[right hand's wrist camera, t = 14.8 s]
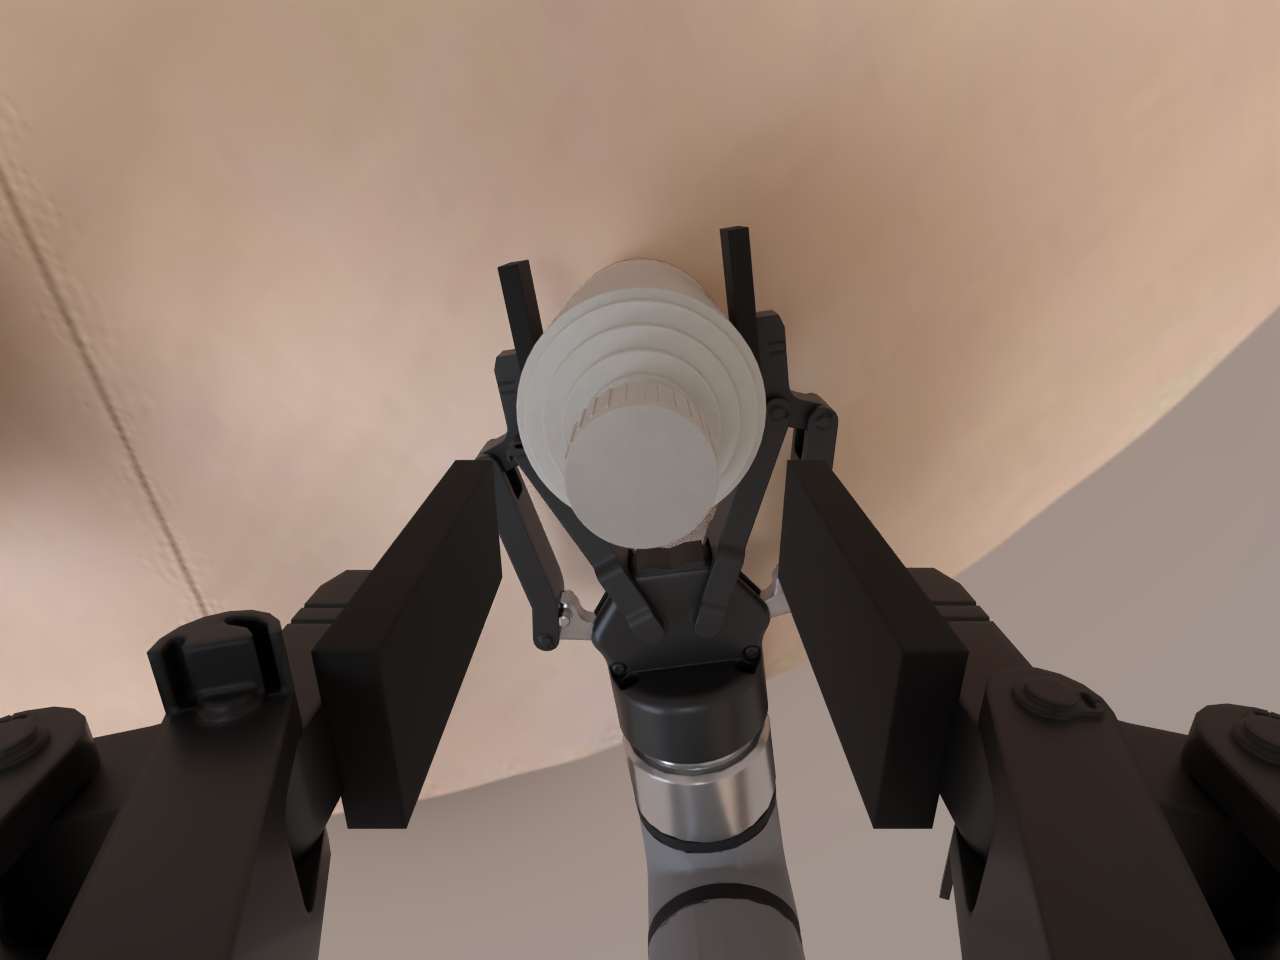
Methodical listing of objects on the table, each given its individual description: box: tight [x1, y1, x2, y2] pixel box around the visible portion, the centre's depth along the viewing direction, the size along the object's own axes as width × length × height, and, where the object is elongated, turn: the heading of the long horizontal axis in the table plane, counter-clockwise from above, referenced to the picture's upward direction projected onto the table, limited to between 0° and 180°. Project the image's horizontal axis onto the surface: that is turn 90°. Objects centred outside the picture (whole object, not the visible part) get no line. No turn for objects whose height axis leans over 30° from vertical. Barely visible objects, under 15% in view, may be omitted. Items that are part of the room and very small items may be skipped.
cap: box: [564, 381, 719, 549], centre depth 17 cm, size 4×4×2 cm
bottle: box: [516, 259, 766, 508], centre depth 25 cm, size 8×8×18 cm
